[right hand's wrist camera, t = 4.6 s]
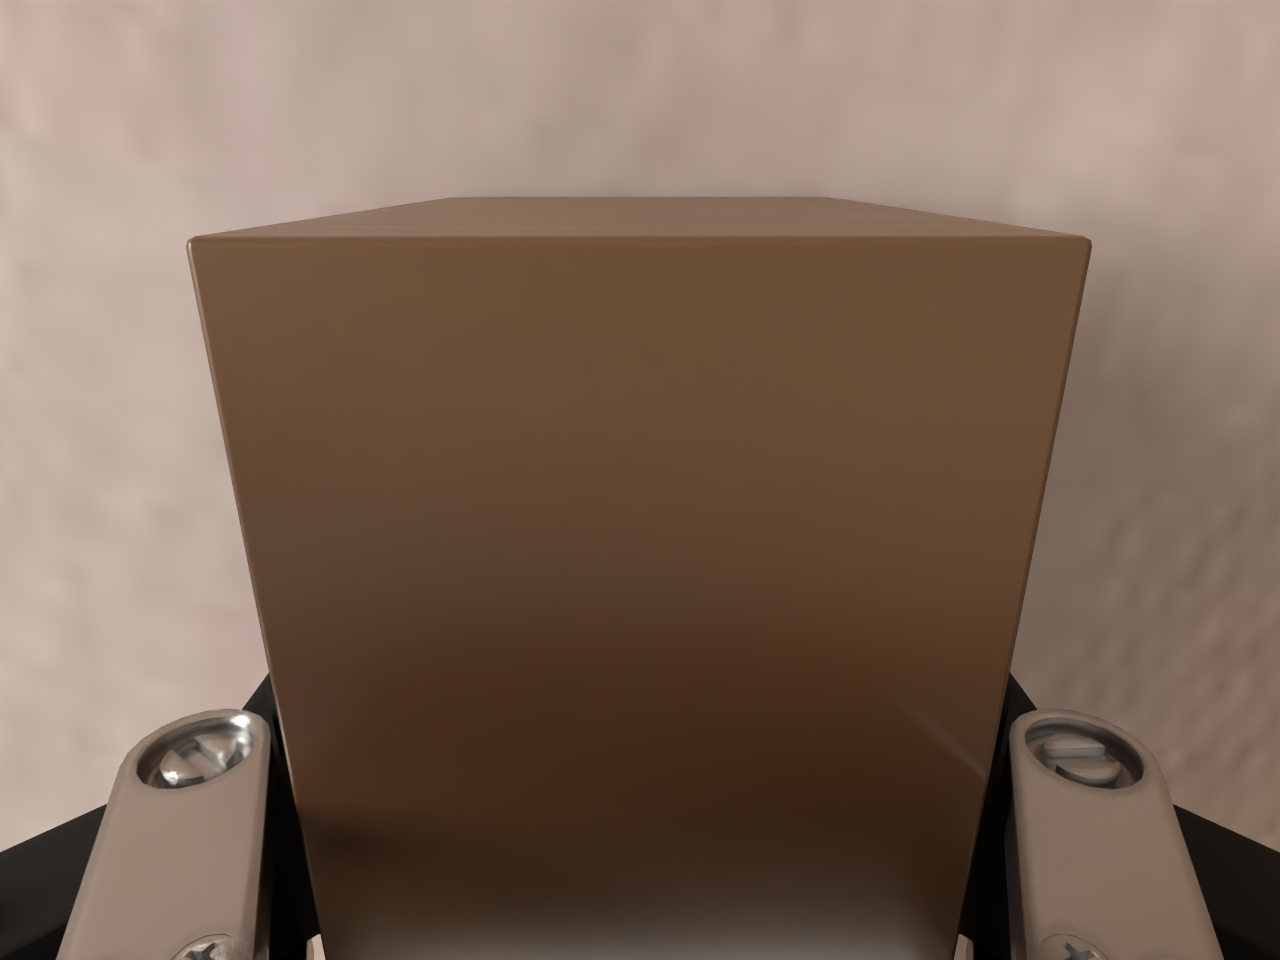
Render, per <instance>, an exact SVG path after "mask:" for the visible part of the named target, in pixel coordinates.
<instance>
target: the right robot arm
mask: <svg viewBox="0 0 1280 960" xmlns="http://www.w3.org/2000/svg"><path fill="white" fill-rule="evenodd" d="M317 934H320V929H319V924H318V918H317V913H316V908H315V903H314V898H313V893H312V888H311V883H310V878H309V872H308V867H307V862H306V857H305V852H304V847H303V842H302V837H301V832H300V826H299V821H298V816H297V811H296V806H295V801H294V796H293V791H292V786H291V780H290V775H289V770H288V765H287V760H286V755H285V750H284V745H283V740H282V735H281V729H280V724H279V719H278V714H277V709H276V704H275V699H274V694H273V689H272V683H271V678H270V673H268V675H267V676H266V677H265V679H264V680H263V682H262V683H261V684H260V686H259V687H258V688H257V690H256V691H255V692H254V694H253V695H252V697H251V698H250V699H249V701H248V702H247V703H246V705H245V706H244V707H243V709H242V710H237V709H220V710H212V711H204V712H201V713H197V714H194V715H190V716H186V717H183V718H181V719H178V720H176V721H174V722H171V723H169V724H167V725H165V726H162V727H161V728H159V729H157V730H156V731H154V732H153V733H151V734H150V735H148V736H146V737H145V738H143V739H142V740H141V741H140V742H139V743H138V744H137V745H136V746H135V747H134V748H133V749H132V750H130V751H129V752H128V754H127V755H126V757H125V759H124V761H123V762H122V764H121V766H120V768H119V771H118V774H117V777H116V780H115V783H114V786H113V789H112V792H111V795H110V798H109V801H108V804H106V805H103V806H101V807H99V808H97V809H95V810H92V811H90V812H88V813H86V814H84V815H81V816H79V817H77V818H75V819H73V820H70V821H68V822H66V823H64V824H62V825H59V826H57V827H55V828H53V829H51V830H48V831H46V832H44V833H42V834H40V835H37V836H35V837H33V838H31V839H29V840H26V841H24V842H22V843H20V844H18V845H15V846H13V847H11V848H9V849H7V850H4V851H2V852H0V960H314V948H313V943H312V938H313V937H314V936H316V935H317ZM959 934H962V935H964V936H965V937H967V938H968V943H967V948H966V960H1280V853H1279V852H1277V851H1275V850H1273V849H1271V848H1268V847H1266V846H1264V845H1262V844H1260V843H1257V842H1255V841H1253V840H1251V839H1249V838H1246V837H1244V836H1242V835H1240V834H1238V833H1235V832H1233V831H1231V830H1229V829H1227V828H1224V827H1222V826H1220V825H1218V824H1216V823H1213V822H1211V821H1209V820H1207V819H1205V818H1202V817H1200V816H1198V815H1196V814H1194V813H1191V812H1189V811H1187V810H1185V809H1183V808H1180V807H1178V806H1176V805H1174V804H1172V801H1171V798H1170V795H1169V792H1168V789H1167V786H1166V783H1165V780H1164V777H1163V774H1162V771H1161V768H1160V766H1159V764H1158V762H1157V761H1156V759H1155V757H1154V755H1153V754H1152V752H1151V751H1150V750H1148V749H1147V748H1146V747H1145V746H1144V745H1143V744H1142V743H1141V742H1140V741H1139V740H1138V739H1137V738H1135V737H1134V736H1132V735H1130V734H1129V733H1127V732H1126V731H1124V730H1123V729H1121V728H1119V727H1118V726H1115V725H1113V724H1111V723H1109V722H1106V721H1104V720H1102V719H1099V718H1097V717H1094V716H1090V715H1086V714H1083V713H1079V712H1076V711H1068V710H1060V709H1043V710H1037V708H1036V707H1035V706H1034V704H1033V703H1032V702H1031V700H1030V699H1029V698H1028V696H1027V695H1026V693H1025V692H1024V691H1023V689H1022V688H1021V687H1020V685H1019V684H1018V683H1017V681H1016V680H1015V678H1014V677H1013V676H1012V674H1011V673H1010V672H1009V677H1008V682H1007V687H1006V692H1005V697H1004V703H1003V708H1002V713H1001V718H1000V723H999V728H998V734H997V739H996V744H995V749H994V754H993V759H992V764H991V770H990V775H989V780H988V785H987V790H986V795H985V801H984V806H983V811H982V816H981V821H980V826H979V831H978V837H977V842H976V847H975V852H974V857H973V862H972V868H971V873H970V878H969V883H968V888H967V893H966V898H965V904H964V909H963V914H962V919H961V924H960V929H959Z"/></svg>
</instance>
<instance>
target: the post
mask: <svg viewBox="0 0 1280 960" xmlns="http://www.w3.org/2000/svg"><path fill="white" fill-rule="evenodd" d="M186 249H187V254H188V259H189V264H190V270H191V275H192V280H193V285H194V290H195V295H196V300H197V305H198V310H199V316H200V321H201V326H202V331H203V336H204V341H205V346H206V351H207V356H208V362H209V367H210V372H211V377H212V382H213V387H214V392H215V397H216V402H217V408H218V413H219V418H220V423H221V428H222V433H223V438H224V443H225V448H226V454H227V459H228V464H229V469H230V474H231V479H232V484H233V489H234V494H235V499H236V505H237V510H238V515H239V520H240V525H241V530H242V535H243V540H244V545H245V551H246V556H247V561H248V566H249V571H250V576H251V581H252V586H253V591H254V597H255V602H256V607H257V612H258V617H259V622H260V627H261V632H262V637H263V643H264V648H265V653H266V658H267V663H268V668H269V673H270V678H271V683H272V689H273V694H274V699H275V704H276V709H277V714H278V719H279V724H280V729H281V735H282V740H283V745H284V750H285V755H286V760H287V765H288V770H289V775H290V780H291V786H292V791H293V796H294V801H295V806H296V811H297V816H298V821H299V826H300V832H301V837H302V842H303V847H304V852H305V857H306V862H307V867H308V872H309V878H310V883H311V888H312V893H313V898H314V903H315V908H316V913H317V918H318V924H319V929H320V934H321V939H322V944H323V949H324V954H325V959H326V960H954V955H955V950H956V945H957V940H958V935H959V929H960V924H961V919H962V914H963V909H964V904H965V898H966V893H967V888H968V883H969V878H970V873H971V868H972V862H973V857H974V852H975V847H976V842H977V837H978V831H979V826H980V821H981V816H982V811H983V806H984V801H985V795H986V790H987V785H988V780H989V775H990V770H991V764H992V759H993V754H994V749H995V744H996V739H997V734H998V728H999V723H1000V718H1001V713H1002V708H1003V703H1004V697H1005V692H1006V687H1007V682H1008V677H1009V672H1010V666H1011V661H1012V656H1013V651H1014V646H1015V641H1016V636H1017V630H1018V625H1019V620H1020V615H1021V610H1022V605H1023V599H1024V594H1025V589H1026V584H1027V579H1028V574H1029V569H1030V563H1031V558H1032V553H1033V548H1034V543H1035V538H1036V532H1037V527H1038V522H1039V517H1040V512H1041V507H1042V502H1043V496H1044V491H1045V486H1046V481H1047V476H1048V471H1049V465H1050V460H1051V455H1052V450H1053V445H1054V440H1055V434H1056V429H1057V424H1058V419H1059V414H1060V409H1061V404H1062V398H1063V393H1064V388H1065V383H1066V378H1067V373H1068V367H1069V362H1070V357H1071V352H1072V347H1073V342H1074V337H1075V331H1076V326H1077V321H1078V316H1079V311H1080V306H1081V300H1082V295H1083V290H1084V285H1085V280H1086V275H1087V270H1088V264H1089V259H1090V254H1091V249H1092V245H1091V240H1090V239H1088V238H1086V237H1084V236H1080V235H1073V234H1066V233H1060V232H1053V231H1046V230H1040V229H1033V228H1027V227H1020V226H1013V225H1007V224H1000V223H993V222H987V221H980V220H974V219H967V218H960V217H954V216H947V215H941V214H934V213H927V212H921V211H914V210H907V209H901V208H894V207H888V206H881V205H874V204H868V203H861V202H854V201H848V200H841V199H835V198H828V197H622V198H445V199H439V200H432V201H425V202H419V203H412V204H406V205H399V206H392V207H386V208H379V209H373V210H366V211H360V212H353V213H346V214H340V215H333V216H327V217H320V218H314V219H307V220H300V221H294V222H287V223H281V224H274V225H267V226H261V227H254V228H248V229H241V230H235V231H228V232H221V233H215V234H208V235H202V236H195V237H193V238H191V239H189V240H188V241H187V246H186Z"/></svg>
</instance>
